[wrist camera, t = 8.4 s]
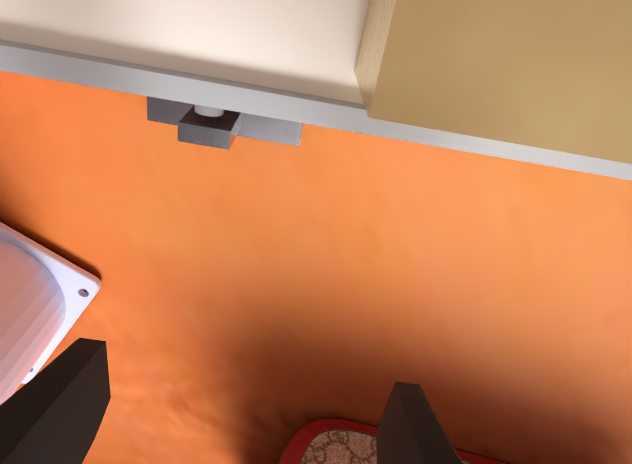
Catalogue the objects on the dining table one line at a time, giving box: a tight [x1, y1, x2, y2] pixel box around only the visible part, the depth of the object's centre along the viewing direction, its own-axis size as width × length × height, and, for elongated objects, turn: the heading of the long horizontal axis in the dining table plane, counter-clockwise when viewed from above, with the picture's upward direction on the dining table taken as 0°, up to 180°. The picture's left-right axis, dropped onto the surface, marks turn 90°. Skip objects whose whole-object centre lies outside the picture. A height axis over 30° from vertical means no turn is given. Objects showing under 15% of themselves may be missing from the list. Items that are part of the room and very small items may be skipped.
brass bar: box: [354, 0, 632, 164], centre depth 10 cm, size 8×5×4 cm, turn 80°
